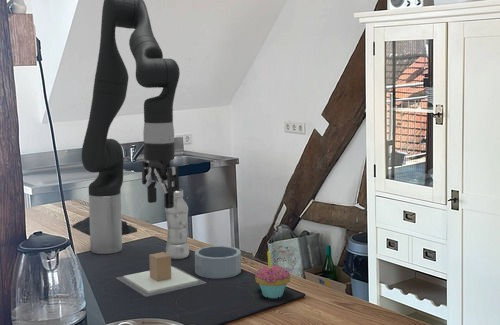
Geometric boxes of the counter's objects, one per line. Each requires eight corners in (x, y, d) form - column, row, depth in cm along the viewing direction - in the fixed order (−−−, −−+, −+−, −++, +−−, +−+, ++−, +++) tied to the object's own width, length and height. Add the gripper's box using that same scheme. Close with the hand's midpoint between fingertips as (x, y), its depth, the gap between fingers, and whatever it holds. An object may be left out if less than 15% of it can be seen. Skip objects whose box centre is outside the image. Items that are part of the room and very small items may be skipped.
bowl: (186, 272, 174) (186, 250, 174) (224, 264, 181) (224, 243, 181) (210, 284, 165) (210, 261, 164) (249, 275, 172) (249, 253, 171)
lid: (123, 278, 167) (122, 253, 166) (171, 268, 175) (171, 244, 174) (148, 293, 156) (147, 266, 155) (198, 282, 164) (198, 257, 163)
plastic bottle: (185, 262, 183) (184, 192, 180) (162, 261, 184) (161, 191, 181) (192, 256, 189) (191, 188, 186) (169, 254, 190) (168, 187, 187)
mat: (115, 280, 167) (115, 277, 167) (173, 268, 177) (173, 266, 177) (145, 299, 154) (145, 296, 154) (206, 285, 164) (206, 282, 163)
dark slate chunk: (109, 221, 233) (108, 208, 232) (140, 233, 216) (140, 219, 216) (68, 228, 223) (68, 214, 223) (98, 241, 207) (97, 226, 206)
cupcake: (278, 303, 152) (279, 253, 150) (247, 296, 156) (248, 248, 154) (296, 292, 159) (296, 245, 157) (266, 286, 163) (266, 240, 161)
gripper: (187, 142, 157) (188, 208, 159) (158, 137, 168) (159, 198, 170) (160, 144, 152) (161, 212, 155) (131, 139, 164) (133, 202, 166)
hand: (160, 205), depth 163 cm, fingers open, 8 cm apart
